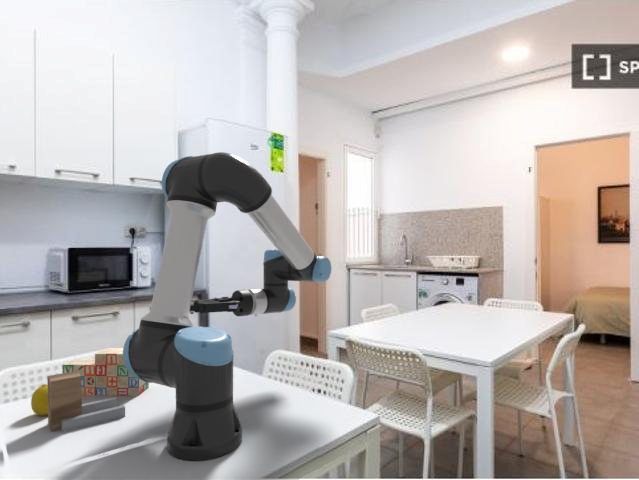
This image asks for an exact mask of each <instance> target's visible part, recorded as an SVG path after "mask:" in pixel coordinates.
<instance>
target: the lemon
mask: <svg viewBox="0 0 639 480" xmlns="http://www.w3.org/2000/svg"><path fill="white" fill-rule="evenodd" d="M32 393H33V394H32V395H31V399H30V406H31V409H32V411H33V413H34V414H36V415H38V416H40V417H43V416H48V383H43V384H42V385H41V386H39V387H38V388H36V389H35V390H34V391H33V392H32Z"/></svg>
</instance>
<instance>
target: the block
mask: <svg viewBox="0 0 639 480" xmlns="http://www.w3.org/2000/svg"><path fill="white" fill-rule="evenodd" d="M46 382H47V385H48V415H47V425H48V427H49V429H50V431H51V432H55V431H59V430H61V420H62V419H66V418H71V417H75V416H79V415H82V404H83V400H82V399H83V395H82V382H81V375H80V374H79V373H78V371H73V372H68V373H63V372H61V373H57V374H51V375H47V381H46Z"/></svg>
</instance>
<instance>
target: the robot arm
mask: <svg viewBox="0 0 639 480" xmlns="http://www.w3.org/2000/svg"><path fill="white" fill-rule="evenodd" d="M161 189H162V191H164V192H163V194H164V197H165V198H166V199H167V201H166V207H167V208H168V209H169V211H170V218H169V223H168V227H167V231H166V237H165V241H164V246H163V250H162V254H161V259H160V264H159V268H158V274H157V277H156V282H155V286H154V290H153V291H154V292H153V296H152V300H151V304H150V309H149V312H148V313H146V314H145V315H144V316H142V317H141V318H140V322H139V326H138V328H136V329H135V330H134V331H132V333H131V334H129V335H128V336H127V338H126V339H125V342H124V345H123V347H122V348H123V361H124V365H125V367H126V369H127V370H128V372H129V373H130V374H131V375H132V376H134V377H136V378H138V379H141V380H142V381H145V382H148V383H149V384H152V383H153V384H156V385H161V386H165V387H168V388H173V389H175V411H174V414H173V417H172V421H171V424H170V428H169V429H168V430H169V431H168V434H167V439H166V440H167V443H166V444H167V445H166V447H167V451H168V453H169V454H170V455H171V456H173V457H174V458H177V459H180V460H181V459H182V460H184V461H185V460H187V461H203V460H211V459H215V458H218V457H221V456H224V455H226V454H229V453H231V452H233V451H234V450H236V449H237V448H238V447H239V446H240V445H241V444H242V441H243V428H242V425H241V420H240V418H239V416H238V413H237V410H236V408H235V404H234V356H235V355H234V349H233V340H232V337H231V335H230V334H229V333H228V332H227V331H225V330H222V329H220V328H216V327H211V326H206V327H205V326H194V324H193V323H192V321H191V319H190V318H189V315H194V313H196V314H197V313H198V314H199V313H200V314H207V313H208V314H209V313H222V312H223V313H224V312H226V313H233V315H234V316H236V317H247V316H255V318H256V317H258V316H259V315H263V314H274V313H275V314H276V313H284V312H290V311H291V310H293V309H294V307H296V302H297V296H296V294H295V293H296V292H295V290H294V289H293V288H291V287H290V286H289V282H290V281H291V282H306V283H315V284H316V283H325V282H327V281H328V280H329V279H330V276H331V274H332V264H331V261H330V258H328V257H327V256H322V255H316V253H315V252H314V250H313V249H312V248H311V246H310V245H309V243H308V242H307V241H306V239H305V238H304V237H303V236H302V234H301V233H300V231H299V230H298V229H297V227H296V226H295V225H294V223H293V222H292V220H291V219H290V217H289V216H288V215H287V214H286V212H285V211H284V210H283V208H282V207H281V206H280V204H279V203H278V201H277V200H276V199H275V197H274V196H273V189H272V186H271V184H270V183H269V182H268V181H267V180H266V178H265V177H264V175H262V174H261V173H260V172H259V171H258V170H257V169H256V168H255V167H254V166H253V165H251V164H250V163H249V162H247V161H246V160H245V159H242V157H239V156H238V155H235V154H231V153H229V152H213V153H209V154H203V155H201V154H200V155H195V156H192V155H191V156H184V157H181V158H179V159H175V160H173V161H172V162H170V163H169V164H168V165H167V167H165V169H164V171H163V174H162V178H161ZM225 202H226V203H229V204H232V205H234V206H235V207H236V208H237V209H238V210H239V212H240V213H243V214H247V215H249V217H250V218H251V219H252V220H253V222H254V223H255V224H256V225H257V227H259V229H260V230H261V231H262V233H263V234H264V235H265V237H266V238H267V239H269V241H270V243H271V244H273V246H274V247H275V249H266V250H265V251H264V253H263V254H264V255H263V263H262V265H263V288H254V289H253V288H252V289H251V288H250V289H238V290H235V291H233V293H232V295H231V296H230V297H229V296H221V297H214V298H208V299H207V298H206V299H195V300H193V296H194V295H193V294H194V290H195V285H196V280H197V275H198V269H199V264H200V258H201V255H202V249H203V245H204V241H205V240H204V239H205V234H206V229H207V223H208V221H209V219H211V218H213V217H214V216H215V215H216V211H217V207H218V203H225ZM288 281H289V282H288Z"/></svg>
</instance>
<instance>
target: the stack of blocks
mask: <svg viewBox="0 0 639 480" xmlns="http://www.w3.org/2000/svg"><path fill="white" fill-rule="evenodd" d="M123 348H124V347H116V348H115V347H112V348H111V347H106V348H104V349H102V350H99V351H98V352H95V354H94V358H74V359H71V360H69V361H68V362H66V363H64V364H62V365H61V367H62V368H61V369H62V373H68V372H73V371H78V373H79V374H80V375H81V382H82V396H117V397H118V396H121V397H122V396H124V397H125V396H129V397H131V396H132V397H137V396H138V397H139V396H140V395H142V394H143V393H144V392H145V391H147V390H148V389H149V388H150V387H149V386H150V385H149V384H150V383H148V382H145V381H142V380H141V379H138V378H136V377H134V376H132V375H131V374H130V373H129V372H128V370H127V369H126V367H125V365H124V361H123Z"/></svg>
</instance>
